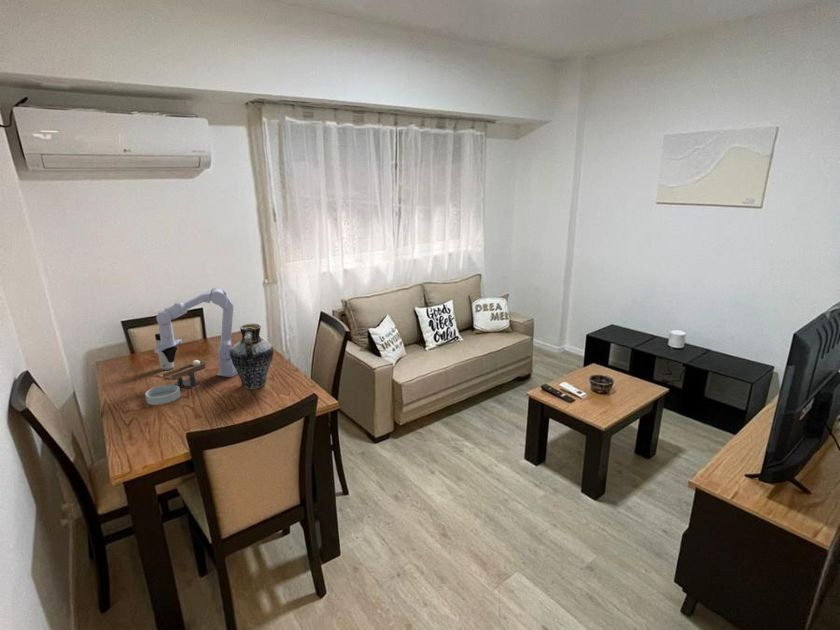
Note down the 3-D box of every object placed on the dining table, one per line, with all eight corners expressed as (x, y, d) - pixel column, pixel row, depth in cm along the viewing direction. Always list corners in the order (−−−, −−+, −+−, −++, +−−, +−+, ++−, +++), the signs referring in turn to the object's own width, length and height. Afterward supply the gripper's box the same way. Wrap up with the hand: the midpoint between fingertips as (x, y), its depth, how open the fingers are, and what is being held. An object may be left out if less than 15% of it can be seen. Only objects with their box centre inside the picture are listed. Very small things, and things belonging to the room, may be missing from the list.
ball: (201, 366, 223) (202, 359, 223) (196, 367, 219) (196, 360, 219) (195, 366, 224) (196, 359, 224) (190, 367, 220) (190, 360, 220)
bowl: (186, 393, 208) (185, 386, 207) (163, 406, 196) (162, 399, 195) (163, 389, 212) (162, 382, 211) (139, 402, 200) (138, 395, 198)
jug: (233, 380, 222) (226, 322, 213) (274, 373, 229) (268, 317, 221) (234, 398, 204) (226, 336, 195) (279, 390, 211) (273, 330, 202)
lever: (205, 369, 224) (204, 361, 223) (173, 382, 205) (172, 373, 204) (185, 366, 227) (184, 358, 226) (151, 379, 208) (151, 370, 207)
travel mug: (165, 371, 231) (159, 335, 225) (158, 369, 234) (152, 332, 228) (177, 367, 236) (171, 331, 230) (170, 365, 239) (164, 329, 233)
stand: (199, 383, 218) (197, 370, 216) (191, 388, 213) (189, 374, 211) (182, 381, 220) (180, 368, 218) (174, 385, 216) (172, 372, 214)
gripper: (172, 329, 221) (176, 355, 225) (147, 339, 207) (152, 366, 211) (183, 331, 219) (187, 357, 223) (159, 341, 205) (164, 368, 209)
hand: (171, 361), depth 217 cm, fingers closed
